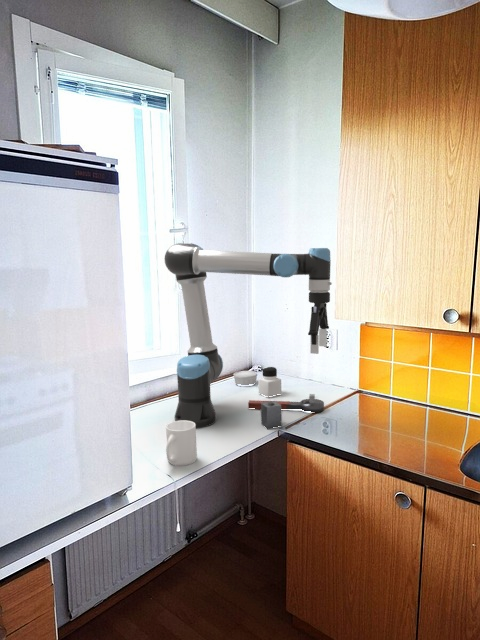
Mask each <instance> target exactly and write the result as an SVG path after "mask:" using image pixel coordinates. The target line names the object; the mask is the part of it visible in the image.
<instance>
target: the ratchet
mask: <svg viewBox="0 0 480 640" xmlns="http://www.w3.org/2000/svg"><path fill="white" fill-rule="evenodd" d="M308 395H309V398H305V399H302V400H301V401H289V400H285V401H284V400H275V401H276V402H277V403H279V404H280V405H281V409H302V410H304V411H311V412H315V413H318V414H321V413H324V411H325V401H323V400H321V399H319V398H316V394H315V393H309V394H308ZM271 401H272V400H254V399H253V400H252V399H251V400H248V407H247V408H255V409H261V403H264V402H271Z"/></svg>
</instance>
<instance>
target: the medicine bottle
mask: <svg viewBox="0 0 480 640" xmlns="http://www.w3.org/2000/svg"><path fill="white" fill-rule="evenodd" d="M257 382H258V394H259V393H260V394H263V395H265V396H268V397H269V396H273V395H277V394H281V395H282V379H281V378H279V377H278V371H277V368H276V367H274V366H266V367H263V368H262V377H260V378H258V381H257Z"/></svg>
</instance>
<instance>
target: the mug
mask: <svg viewBox="0 0 480 640" xmlns="http://www.w3.org/2000/svg"><path fill="white" fill-rule="evenodd" d="M165 429H166V431H165V432H166V433H165V434H166V448H165V452H166V460H167V461H168V463H170V464H171V465H172V466H175V467H177V466H179V467H180V466H181V467H182V466H188V465H191V464H193V463H195V461H197V457H198V456H197V455H198V452H197V451H198V449H197V430H196V429H197V428H196V424H195V423H194V422H192V421H187V420H181V421H175V420H174V421H171V422H168V423H167V424H166V427H165Z"/></svg>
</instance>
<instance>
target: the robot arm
mask: <svg viewBox="0 0 480 640" xmlns="http://www.w3.org/2000/svg"><path fill="white" fill-rule="evenodd" d="M331 261H332V260H331V250H330V249H329V248H328V247H314V248H313V247H310V248H309V250H308V253H272V252H270V253H269V252H254V251H253V252H249V251H233V250H232V251H230V250H229V251H228V250H210V249H209V250H208V249H204V248H202V247H201V246H200V245H197V244H195V243H193V242H191V243H182V242H179V243H174V244H172V245H170V246H169V248H168V249H167V250H166V252H165V254H164V264H165V266H166V268H167V270H168V271H169V272H170V273H172V274H173V275H175V280H176V282H177V283H178V284H179V285H180V286H181V293H182V300H183V304H184V311H185V316H186V325H187V330H188V338H189V343H190V347H189V349H188V350H187V356H183V357H181V358H180V359H179V360H178V361H177V363H176V364H177V365H176V366H177V367H176V376H177V395H178V397H177V398H178V402H177V406H176V410H175V413H174V421H181V420H187V421H192V422H194V423H195V424H196V429H199V428H205V427H208V426H211V425H213V424H214V423H216V422H217V412H216V410H215V408H214V405H213V403H212V399H211V398H212V397H211V384H212V383H213V382H214V381H215V380H217V379H218V378H219V376H220V375H221V374H222V371H223V369H224V362H223V358H222V356H221V355H220V354H219V350H218V346H217V345H216V344H214V343H213V336H212V329H211V324H210V315H209V309H208V303H207V295H206V290H205V289H206V288H205V284H204V283H205V280H206V279H207V278H208V277H207V273H213V274H214V273H218V274H233V275H251V276H252V275H254V276H270V277H281V278H291V277H293V276H306V275H307V276H308V291H309V293H308V302H309V303H310V304H313V306H311V308H310V309H311V310H310V311H311V312H310V321H309V329H308V330H309V331H308V333H307V334H308V336H310V351H309V352H310V353H309V354H314V355H315V354H316V355H319V351H320V350H319V348H320V347H325V348H326V347H327V345H328V344H327V343H328V342H327V340H328V338H327V336H328V330H329V328H330V326H329V323H328V322H329V321H328V311H327V306H328V305H327V304H328V303H330V302H331V293H330V291H331V285H332V284H333V283H332V282H331Z"/></svg>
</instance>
